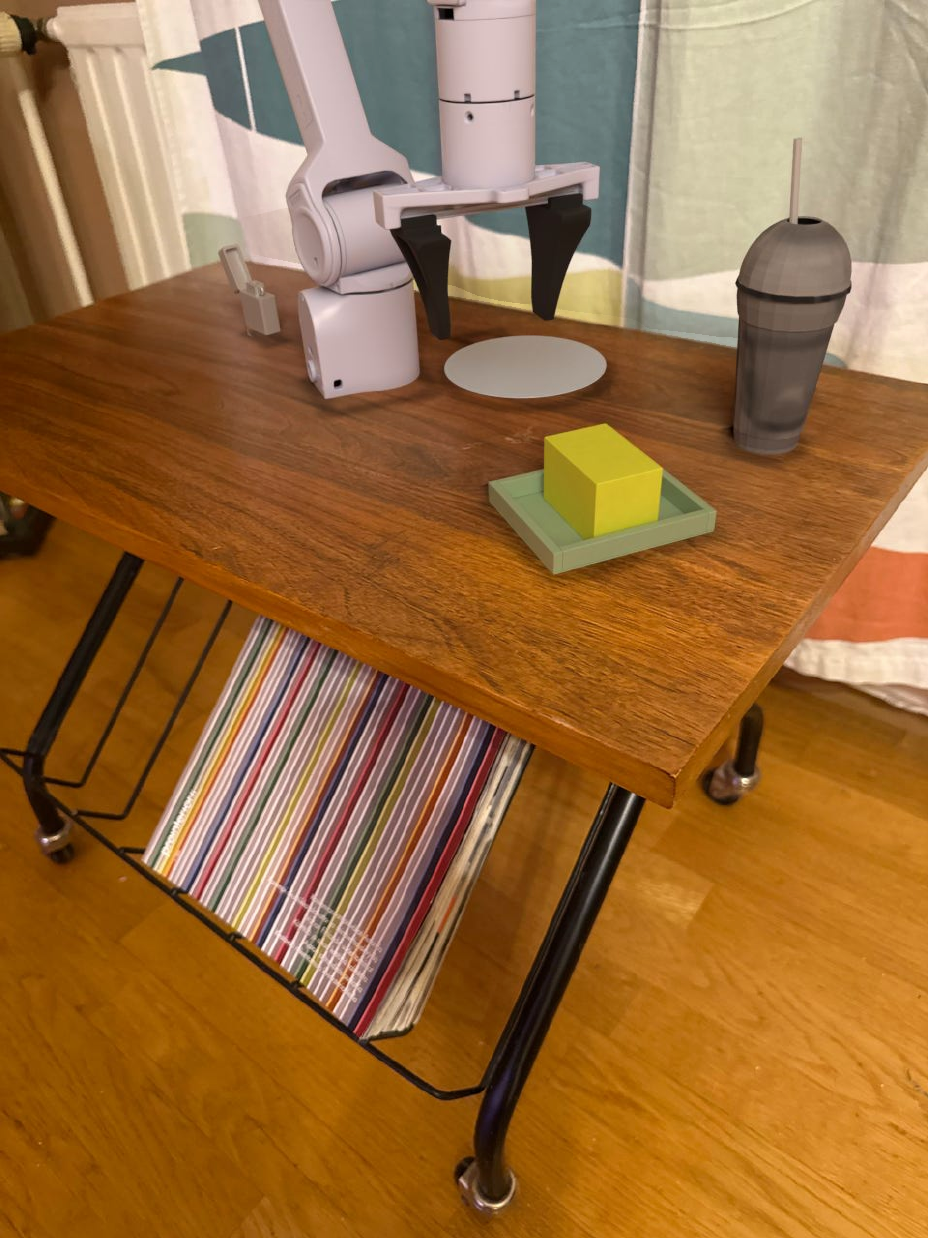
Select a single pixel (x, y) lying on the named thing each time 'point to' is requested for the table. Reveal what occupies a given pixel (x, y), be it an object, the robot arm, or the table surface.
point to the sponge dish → (569, 550)
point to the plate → (525, 366)
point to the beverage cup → (786, 323)
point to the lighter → (250, 293)
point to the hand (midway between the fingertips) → (492, 325)
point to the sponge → (600, 481)
